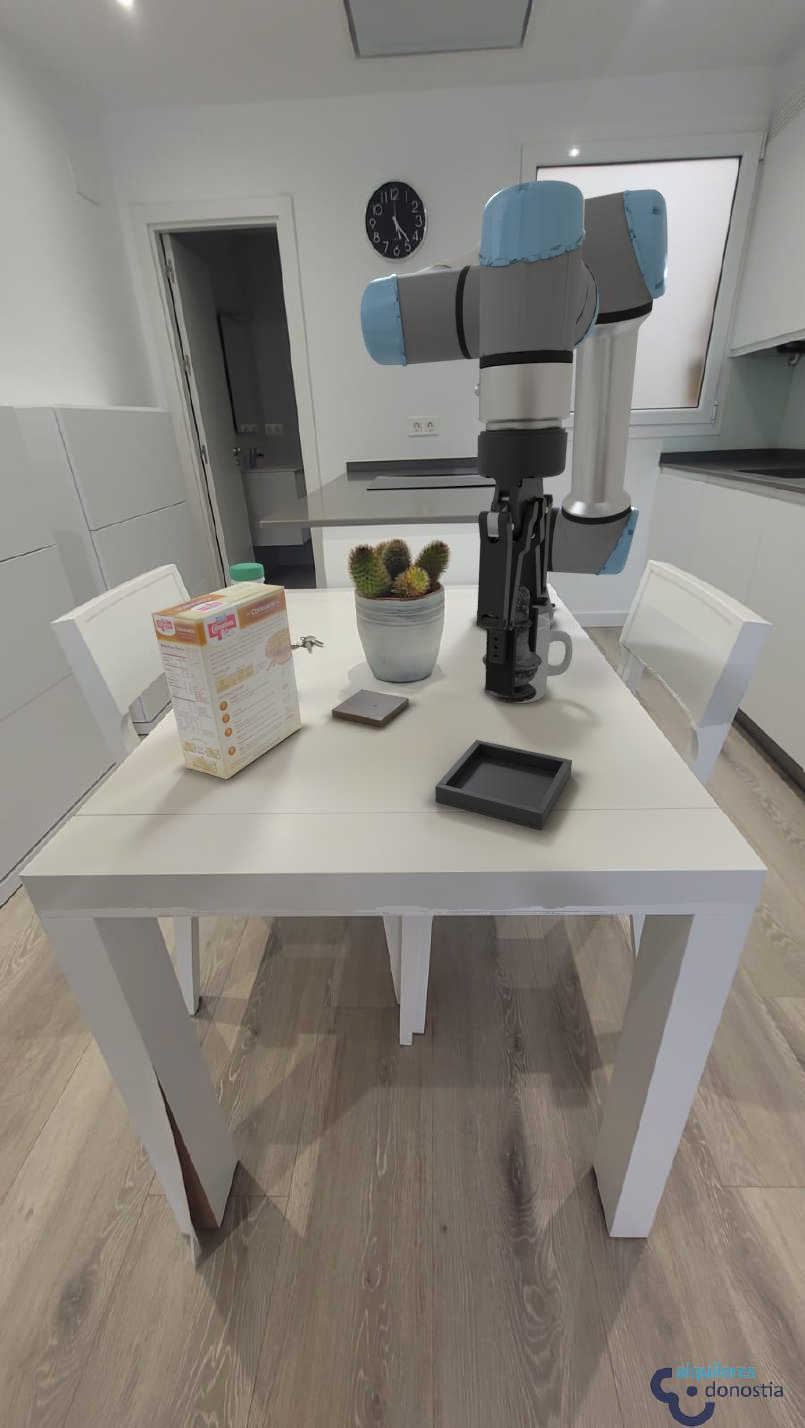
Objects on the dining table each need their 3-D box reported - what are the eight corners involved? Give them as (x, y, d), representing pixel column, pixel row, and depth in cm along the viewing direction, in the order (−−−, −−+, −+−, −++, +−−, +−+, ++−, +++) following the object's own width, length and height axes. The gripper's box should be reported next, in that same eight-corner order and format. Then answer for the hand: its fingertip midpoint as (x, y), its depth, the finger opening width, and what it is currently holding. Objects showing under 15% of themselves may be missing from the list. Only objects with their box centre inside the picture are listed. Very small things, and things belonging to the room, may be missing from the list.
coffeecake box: (263, 718, 84) (242, 580, 75) (304, 727, 81) (287, 585, 72) (183, 768, 72) (147, 611, 64) (227, 781, 69) (196, 618, 60)
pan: (475, 753, 73) (476, 739, 72) (570, 774, 68) (572, 759, 67) (435, 801, 64) (435, 786, 63) (541, 830, 59) (542, 814, 58)
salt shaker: (495, 707, 58) (500, 585, 52) (472, 685, 63) (474, 571, 58) (550, 698, 59) (559, 578, 54) (523, 677, 64) (529, 565, 59)
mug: (491, 704, 85) (493, 631, 81) (484, 681, 93) (486, 613, 88) (575, 702, 85) (582, 628, 80) (561, 679, 93) (568, 611, 88)
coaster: (362, 695, 90) (361, 689, 89) (408, 704, 86) (408, 698, 86) (332, 716, 84) (331, 710, 83) (381, 727, 80) (380, 720, 80)
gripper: (516, 424, 59) (506, 644, 69) (434, 431, 44) (437, 709, 55) (593, 421, 56) (571, 653, 66) (531, 428, 41) (516, 724, 51)
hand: (510, 678), depth 60 cm, fingers closed on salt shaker, 6 cm apart
